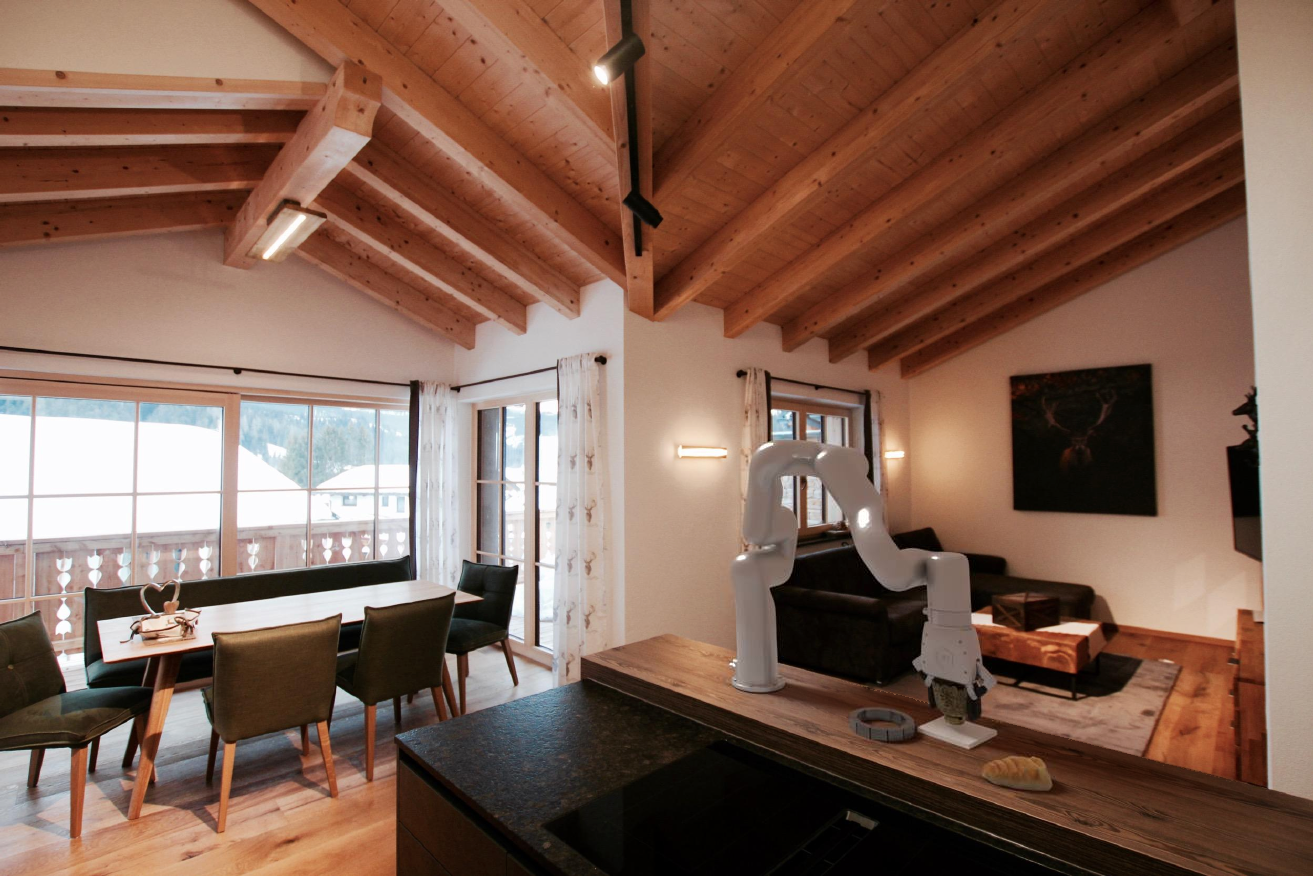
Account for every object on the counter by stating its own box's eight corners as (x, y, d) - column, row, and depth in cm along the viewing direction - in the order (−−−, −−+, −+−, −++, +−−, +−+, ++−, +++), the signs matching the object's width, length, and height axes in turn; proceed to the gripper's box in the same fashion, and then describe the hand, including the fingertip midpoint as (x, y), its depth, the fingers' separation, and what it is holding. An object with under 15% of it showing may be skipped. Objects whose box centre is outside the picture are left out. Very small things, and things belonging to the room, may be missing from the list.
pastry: (992, 791, 96) (990, 766, 97) (975, 771, 103) (974, 748, 103) (1056, 793, 95) (1055, 768, 96) (1035, 773, 102) (1033, 749, 102)
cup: (967, 715, 121) (965, 673, 122) (983, 731, 114) (981, 686, 114) (928, 715, 122) (925, 673, 122) (941, 730, 115) (939, 686, 115)
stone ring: (838, 727, 122) (837, 716, 122) (874, 713, 129) (874, 703, 129) (890, 746, 113) (889, 735, 113) (926, 730, 119) (926, 720, 119)
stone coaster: (917, 731, 119) (917, 727, 119) (946, 719, 125) (945, 715, 125) (968, 749, 111) (968, 744, 111) (997, 735, 116) (996, 730, 116)
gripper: (897, 613, 124) (901, 704, 123) (985, 629, 110) (990, 732, 109) (919, 608, 128) (923, 696, 127) (1006, 623, 114) (1011, 722, 113)
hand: (954, 712), depth 118 cm, fingers closed on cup, 6 cm apart
